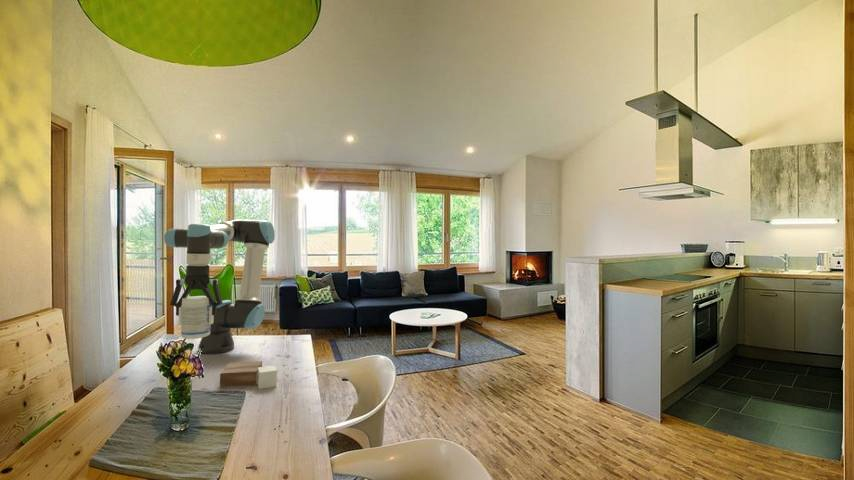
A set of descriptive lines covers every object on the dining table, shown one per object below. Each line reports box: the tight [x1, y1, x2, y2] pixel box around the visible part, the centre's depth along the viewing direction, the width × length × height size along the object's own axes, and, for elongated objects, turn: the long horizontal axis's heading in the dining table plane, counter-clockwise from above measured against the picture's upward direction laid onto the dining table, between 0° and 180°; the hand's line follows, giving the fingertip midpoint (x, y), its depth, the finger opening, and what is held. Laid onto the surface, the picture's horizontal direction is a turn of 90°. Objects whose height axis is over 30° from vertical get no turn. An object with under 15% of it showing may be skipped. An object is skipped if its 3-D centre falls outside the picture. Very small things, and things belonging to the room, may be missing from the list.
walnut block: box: [219, 361, 263, 388], centre depth 142 cm, size 12×12×5 cm
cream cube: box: [256, 365, 278, 390], centre depth 139 cm, size 6×6×6 cm
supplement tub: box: [180, 295, 211, 340], centre depth 140 cm, size 10×10×15 cm
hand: (196, 323), depth 140 cm, fingers closed on supplement tub, 9 cm apart
